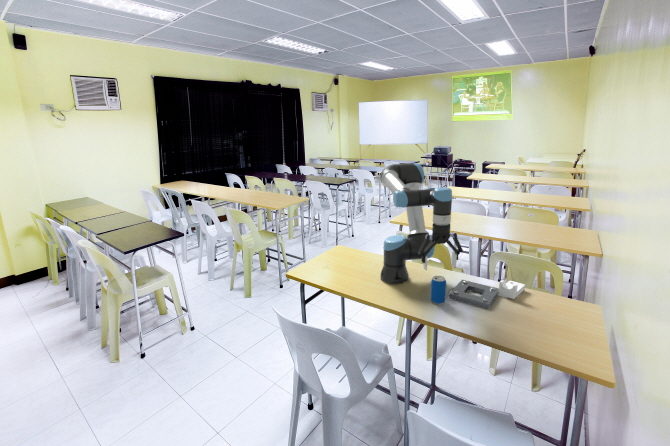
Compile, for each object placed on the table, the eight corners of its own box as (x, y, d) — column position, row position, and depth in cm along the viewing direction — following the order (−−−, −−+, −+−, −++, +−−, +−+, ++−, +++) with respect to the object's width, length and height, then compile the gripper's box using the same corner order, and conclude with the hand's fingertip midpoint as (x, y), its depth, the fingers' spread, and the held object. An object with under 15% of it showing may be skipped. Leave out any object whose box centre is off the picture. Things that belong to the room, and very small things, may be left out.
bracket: (513, 300, 159) (515, 286, 157) (498, 295, 164) (499, 281, 162) (524, 291, 167) (526, 277, 165) (509, 286, 172) (510, 273, 170)
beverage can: (435, 296, 165) (436, 274, 161) (447, 301, 160) (448, 278, 157) (428, 302, 160) (428, 278, 157) (440, 306, 156) (441, 282, 153)
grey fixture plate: (448, 298, 163) (449, 292, 162) (461, 283, 176) (462, 278, 176) (488, 309, 152) (489, 303, 151) (499, 293, 166) (499, 287, 165)
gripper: (416, 227, 145) (415, 273, 151) (472, 223, 147) (469, 268, 153) (411, 222, 152) (410, 267, 158) (464, 218, 154) (461, 262, 160)
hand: (439, 268), depth 155 cm, fingers open, 13 cm apart
